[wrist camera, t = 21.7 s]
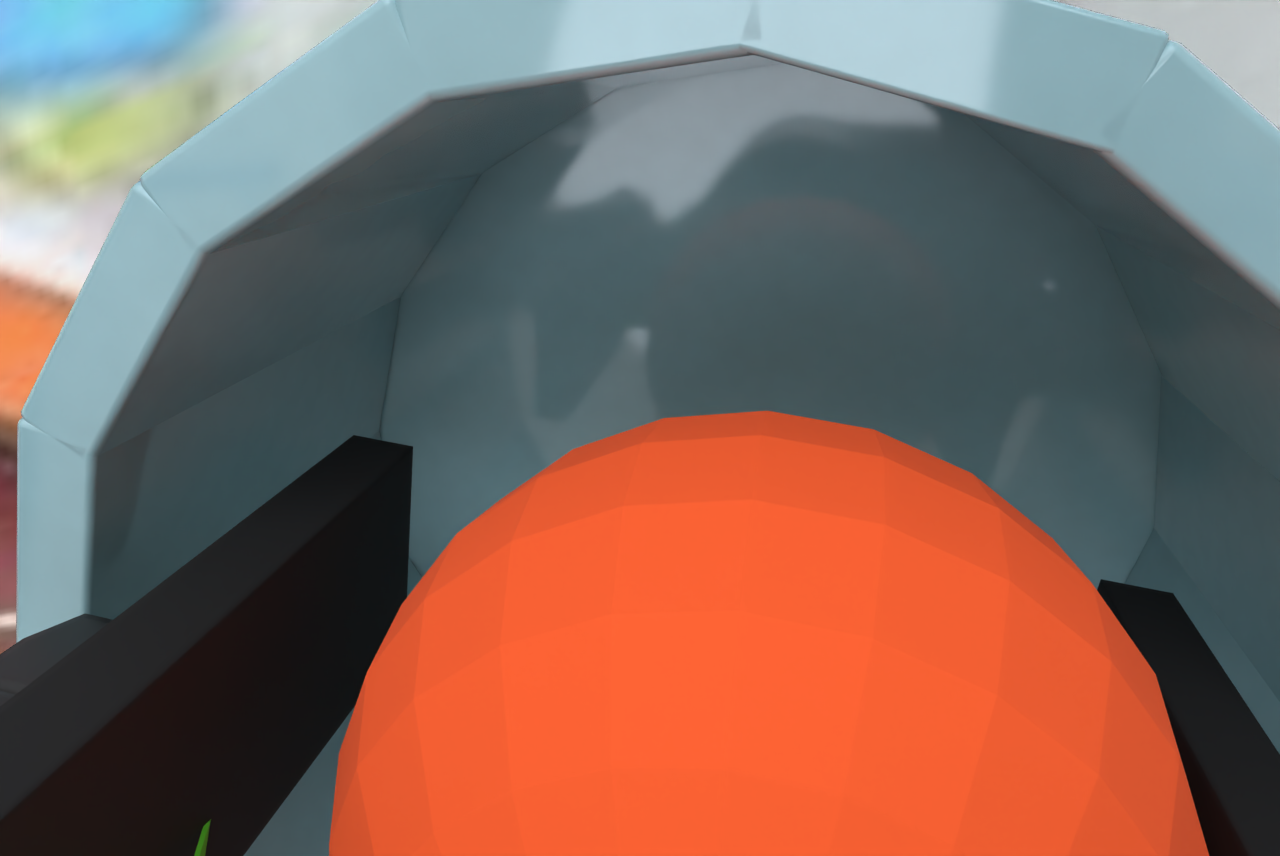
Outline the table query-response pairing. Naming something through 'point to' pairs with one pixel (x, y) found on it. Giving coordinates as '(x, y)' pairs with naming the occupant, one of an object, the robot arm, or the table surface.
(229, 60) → the table surface
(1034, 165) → the pot
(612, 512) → the clementine
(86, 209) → the table surface
